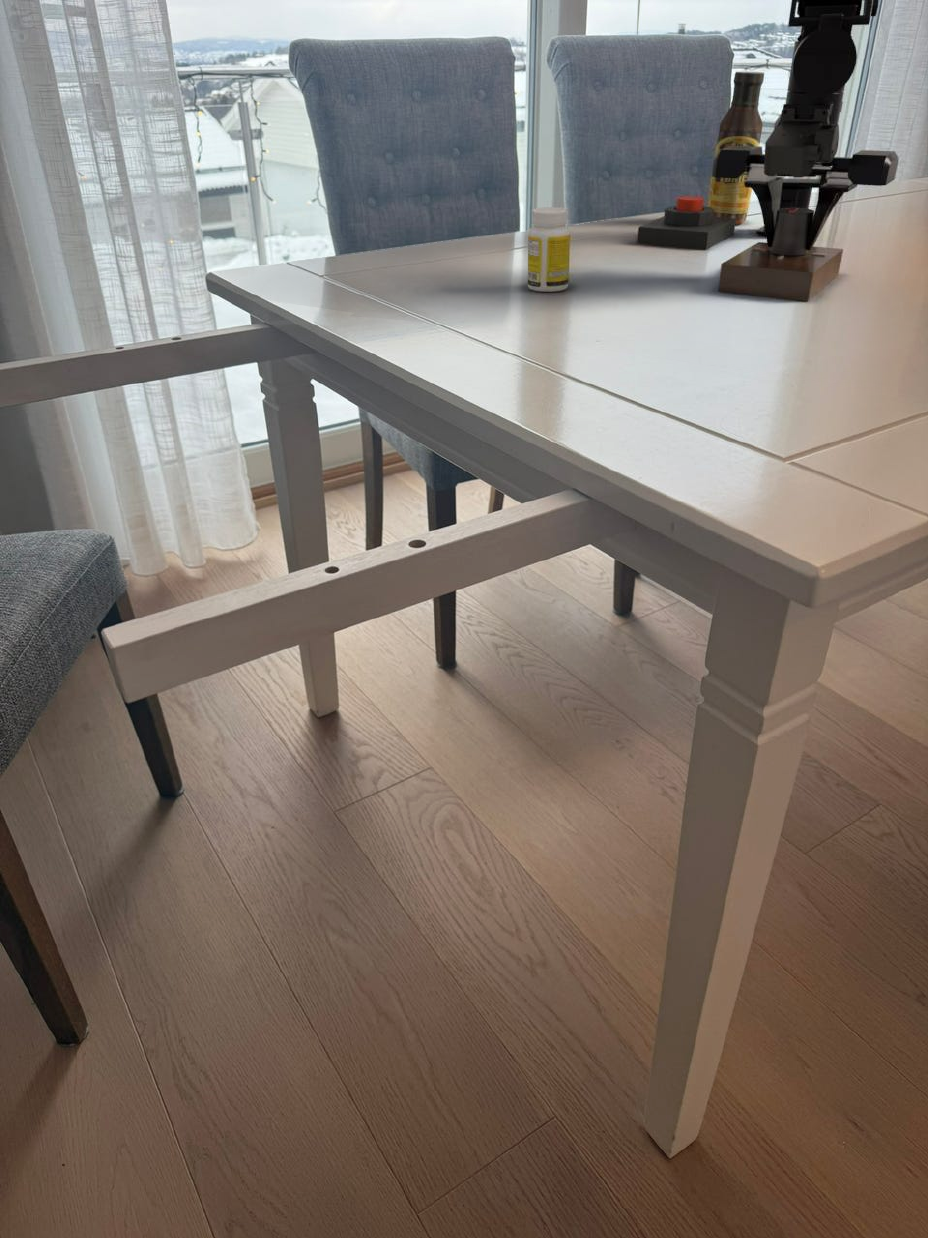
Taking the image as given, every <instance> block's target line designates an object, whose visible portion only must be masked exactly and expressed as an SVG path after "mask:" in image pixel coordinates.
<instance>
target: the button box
mask: <svg viewBox="0 0 928 1238" xmlns="http://www.w3.org/2000/svg"><path fill="white" fill-rule="evenodd" d="M676 206H677V205H670V206H668V207H665V208H664V215H663V216H661V217H659V218H656V219H654V220H652V221H649V222H646V223H645V224H642V225H640V226H638V227H637V239H636V244H638V245H649V246H660V247H671V248H682V249H693V250H706V251H707V250H709V249H710V248H711V247H714V246H716V245H717V244H719V243H721V242H723V241H725V240H727V239H728V238H731V237H732V236H734V235H735V230H736V229H735V228H736V225H735V222H736V218H722V217H713V213H714V209H713V208H711V207H707V205H703V210H701V211H679V210H676Z"/></svg>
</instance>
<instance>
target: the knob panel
mask: <svg viewBox="0 0 928 1238" xmlns="http://www.w3.org/2000/svg"><path fill="white" fill-rule="evenodd" d="M771 248H772V247H768V245H767V242H764V241H758V242H755V243H754V244H753V245H751V246H749V247H747V248H746V249H744V250H743V251H741V252H739V253H737V254H736V255H734V256H732V257H731V258H729V259H727V260H726V261H724V262H722V263H721V264H720V273H719V281H718V290H717V291H718V292H719V293H727V294H737V295H738V294H739V295H746V296H754V297H755V296H756V297H765V298H773V299H774V298H775V299H782V300H783V299H784V300H791V301H800V302H809V301H810V300H811V299H812V298H814V297H815V296H816V295H817V294H818V293H820V291H822V290H824V288H826V287H827V285H829V284H830V283H831V282H833V280H834V279H836V278H837V277H838V276H839V273H840V268H841V262H842V257H843V254H844V253H843V252H844V248H838V247H837V248H836V247H827V246H825V247H824V246H813V247H812V249H811V250H807V253H806V254H805V255H799V256H784V255H777V254H774V253H772V252H771Z"/></svg>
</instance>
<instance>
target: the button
mask: <svg viewBox="0 0 928 1238" xmlns="http://www.w3.org/2000/svg"><path fill="white" fill-rule="evenodd" d="M704 202H705V201H704V197H703V196H698V195H697V196H696V195H684V196H678V197H677V198H676V205H675V206H676V210H679V211H701V210H703V206H704Z"/></svg>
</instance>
